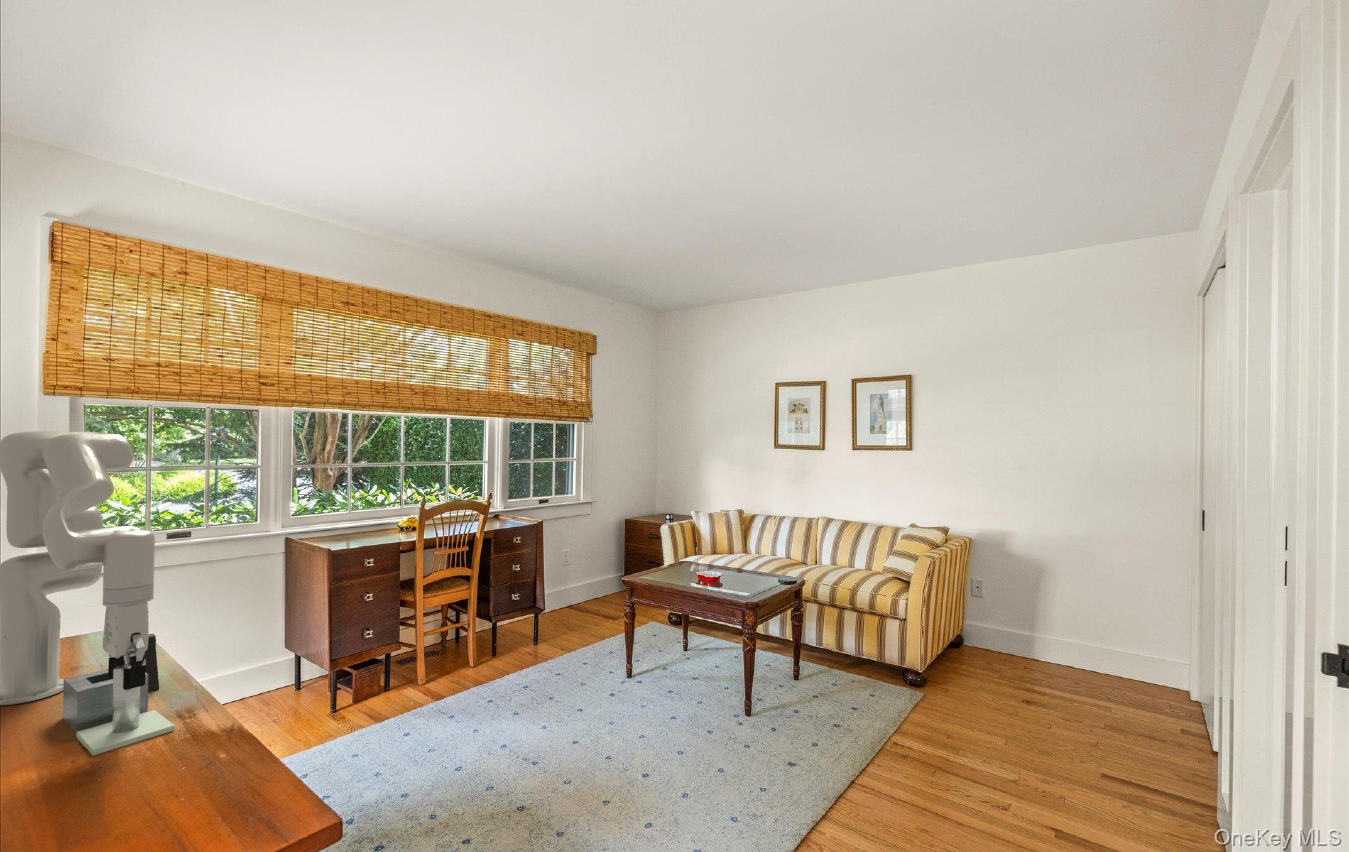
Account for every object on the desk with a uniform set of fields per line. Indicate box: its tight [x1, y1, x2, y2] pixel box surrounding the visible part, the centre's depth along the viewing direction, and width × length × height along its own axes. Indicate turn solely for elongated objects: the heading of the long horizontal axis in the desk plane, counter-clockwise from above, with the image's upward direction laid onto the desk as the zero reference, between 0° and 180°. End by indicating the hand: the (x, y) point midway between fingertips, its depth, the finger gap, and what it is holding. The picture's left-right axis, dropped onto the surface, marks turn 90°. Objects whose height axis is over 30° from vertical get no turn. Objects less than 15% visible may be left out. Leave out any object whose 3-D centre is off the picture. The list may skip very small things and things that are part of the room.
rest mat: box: [75, 709, 176, 756], centre depth 121 cm, size 12×12×1 cm
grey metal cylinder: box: [112, 665, 140, 733], centre depth 121 cm, size 4×4×12 cm
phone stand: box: [128, 633, 160, 693], centre depth 143 cm, size 9×6×12 cm, turn 54°
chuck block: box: [62, 668, 149, 733], centre depth 129 cm, size 11×11×8 cm
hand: (126, 681), depth 121 cm, fingers open, 9 cm apart
